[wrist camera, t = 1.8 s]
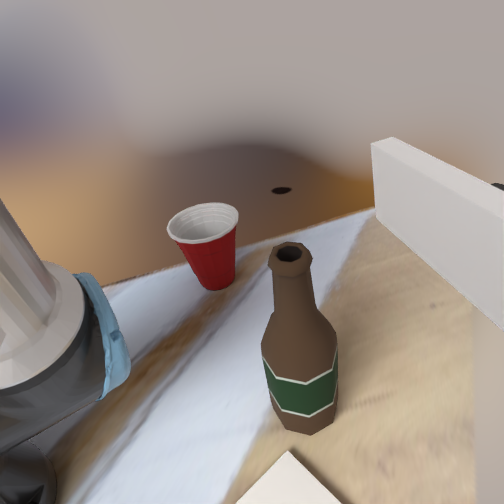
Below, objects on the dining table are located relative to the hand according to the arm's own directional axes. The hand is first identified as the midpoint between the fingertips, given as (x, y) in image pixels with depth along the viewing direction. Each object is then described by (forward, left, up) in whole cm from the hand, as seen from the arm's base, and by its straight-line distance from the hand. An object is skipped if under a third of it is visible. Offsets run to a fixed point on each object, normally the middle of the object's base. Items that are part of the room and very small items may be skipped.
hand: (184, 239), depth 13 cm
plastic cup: (-36, +20, -39) cm, 56 cm away
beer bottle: (-10, +13, -39) cm, 42 cm away
